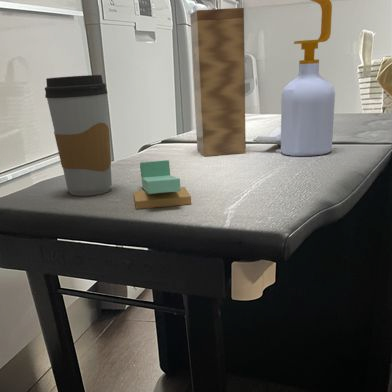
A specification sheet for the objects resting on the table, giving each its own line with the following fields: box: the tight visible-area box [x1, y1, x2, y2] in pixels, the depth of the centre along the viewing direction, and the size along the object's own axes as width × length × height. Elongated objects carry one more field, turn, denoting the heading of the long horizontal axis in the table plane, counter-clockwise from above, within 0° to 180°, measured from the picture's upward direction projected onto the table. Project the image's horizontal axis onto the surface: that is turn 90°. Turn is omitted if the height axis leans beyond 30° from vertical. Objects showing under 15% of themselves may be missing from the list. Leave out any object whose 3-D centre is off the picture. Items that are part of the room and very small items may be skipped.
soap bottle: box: [280, 0, 336, 157], centre depth 93 cm, size 9×9×25 cm
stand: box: [189, 7, 247, 157], centre depth 100 cm, size 8×8×23 cm
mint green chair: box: [139, 159, 182, 194], centre depth 73 cm, size 4×15×4 cm, turn 9°
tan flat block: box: [132, 186, 192, 210], centre depth 71 cm, size 7×6×1 cm
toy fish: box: [252, 125, 281, 146], centre depth 108 cm, size 6×18×4 cm, turn 151°
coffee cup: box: [44, 74, 113, 197], centre depth 76 cm, size 8×8×15 cm
